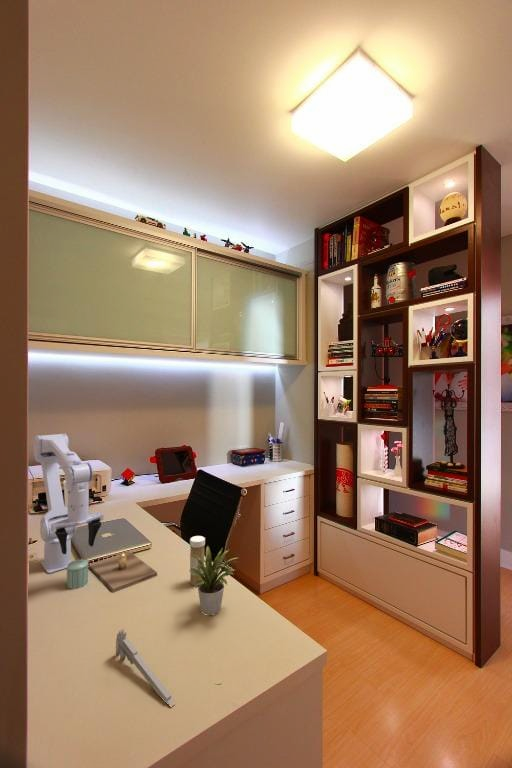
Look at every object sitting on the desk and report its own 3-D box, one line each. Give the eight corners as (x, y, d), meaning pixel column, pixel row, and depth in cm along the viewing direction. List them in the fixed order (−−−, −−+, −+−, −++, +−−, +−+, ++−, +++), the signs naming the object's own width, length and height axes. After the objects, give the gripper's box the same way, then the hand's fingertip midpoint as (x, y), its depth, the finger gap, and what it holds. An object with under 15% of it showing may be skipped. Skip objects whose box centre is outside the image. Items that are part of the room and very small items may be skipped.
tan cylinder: (117, 568, 118) (117, 553, 118) (124, 565, 120) (124, 551, 120) (120, 570, 116) (120, 555, 116) (127, 568, 118) (127, 553, 118)
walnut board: (88, 567, 120) (88, 564, 120) (129, 554, 130) (129, 551, 130) (113, 592, 106) (113, 588, 106) (157, 575, 115) (157, 572, 115)
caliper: (115, 656, 81) (115, 628, 81) (119, 653, 82) (120, 625, 82) (170, 709, 68) (170, 675, 68) (175, 706, 69) (175, 672, 69)
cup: (58, 512, 173) (59, 482, 173) (70, 506, 181) (70, 477, 181) (74, 513, 172) (74, 482, 172) (85, 507, 180) (85, 478, 180)
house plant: (221, 636, 87) (221, 568, 87) (172, 622, 92) (173, 557, 93) (245, 603, 100) (245, 544, 101) (201, 593, 106) (201, 536, 106)
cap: (64, 583, 110) (64, 563, 111) (84, 576, 114) (84, 557, 114) (70, 590, 106) (70, 570, 106) (90, 583, 110) (90, 563, 110)
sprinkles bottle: (207, 583, 111) (207, 539, 111) (193, 588, 108) (193, 542, 108) (200, 577, 115) (201, 534, 115) (187, 581, 112) (187, 537, 112)
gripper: (55, 513, 103) (55, 561, 103) (107, 502, 113) (107, 546, 113) (48, 507, 108) (48, 553, 108) (98, 497, 118) (98, 539, 118)
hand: (77, 549), depth 110 cm, fingers open, 7 cm apart
